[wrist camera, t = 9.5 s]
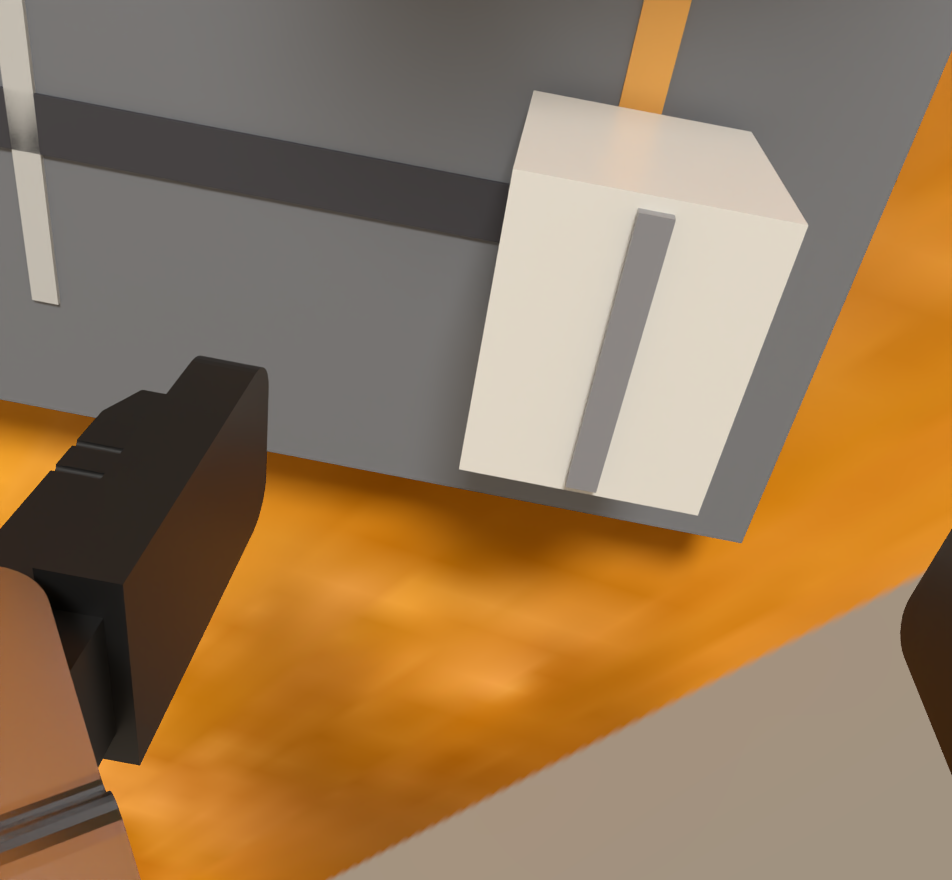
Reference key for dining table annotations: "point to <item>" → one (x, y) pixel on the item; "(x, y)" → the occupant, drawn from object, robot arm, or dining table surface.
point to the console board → (401, 197)
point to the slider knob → (627, 302)
